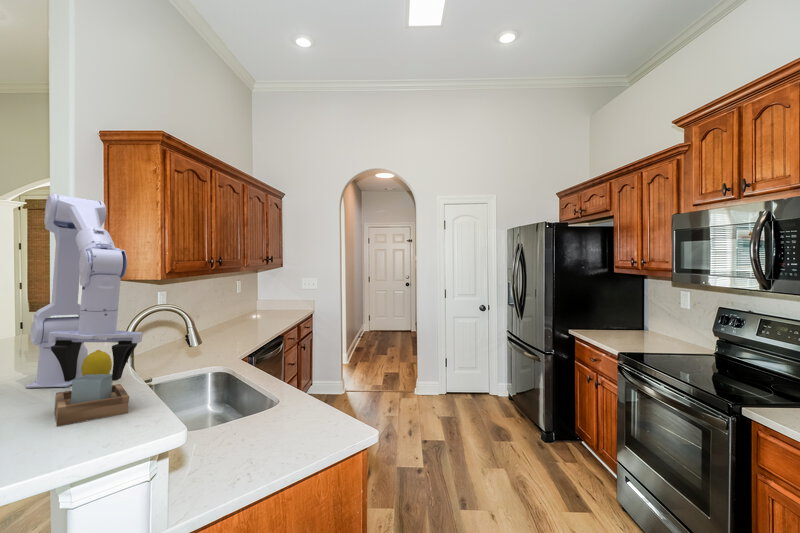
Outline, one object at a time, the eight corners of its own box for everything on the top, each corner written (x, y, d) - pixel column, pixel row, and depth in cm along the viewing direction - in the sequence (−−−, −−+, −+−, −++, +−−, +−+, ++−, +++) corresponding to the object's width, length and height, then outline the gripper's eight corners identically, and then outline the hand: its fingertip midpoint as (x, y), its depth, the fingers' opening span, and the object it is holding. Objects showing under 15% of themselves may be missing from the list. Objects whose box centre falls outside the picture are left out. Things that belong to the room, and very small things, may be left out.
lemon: (92, 388, 82) (95, 353, 82) (73, 385, 83) (76, 350, 83) (116, 381, 87) (119, 348, 88) (98, 379, 89) (100, 346, 89)
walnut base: (54, 409, 69) (55, 392, 69) (119, 398, 76) (120, 383, 76) (56, 426, 62) (58, 407, 62) (127, 413, 69) (129, 396, 69)
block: (84, 397, 71) (86, 374, 71) (111, 396, 72) (113, 374, 72) (70, 405, 66) (72, 381, 67) (99, 404, 68) (101, 380, 68)
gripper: (39, 310, 64) (32, 386, 64) (133, 313, 68) (127, 384, 68) (64, 307, 71) (58, 375, 70) (148, 309, 75) (143, 374, 74)
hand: (93, 379), depth 69 cm, fingers open, 7 cm apart
